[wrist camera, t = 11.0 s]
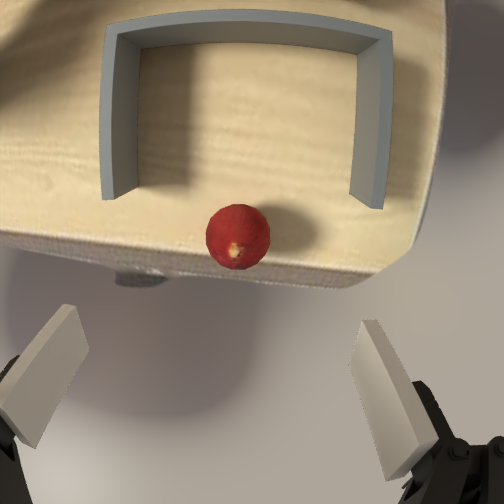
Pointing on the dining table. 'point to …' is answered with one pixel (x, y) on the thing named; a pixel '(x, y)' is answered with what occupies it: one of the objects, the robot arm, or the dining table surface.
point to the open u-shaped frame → (250, 31)
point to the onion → (238, 236)
